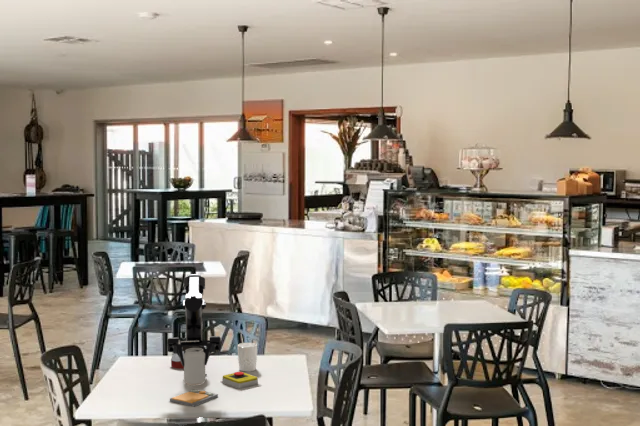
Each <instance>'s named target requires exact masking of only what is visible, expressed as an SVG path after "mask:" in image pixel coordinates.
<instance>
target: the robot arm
mask: <svg viewBox="0 0 640 426" xmlns="http://www.w3.org/2000/svg"><path fill="white" fill-rule="evenodd" d="M183 290H184V291H185V296H184V297H185V298H184V299H183V300H182V310H183V311H184V310H185V340H180V339H179V337H169V338H168V339H166V340H167V343H166V346H167V347H166V348H167V352H168V353H173V355H174V354H177V355H178V356H179V358H180V361H181V363H182V366H184V359H183V352H182V351H184V353H185V352H186V351H185V350H186V349H189V348H202V349H203V352H204V353H205V366H207V364H208V361H209V358H210V356H211V354H212V353H215V352H216V351H221V349H222V348H221V346H222V340H221V339H222V338H221V337H220V336H219V335H216V336H215V335H214V336H213V335H211V336H210V335H209V339H208V340H207V339H206V340H205V339H204V338H203V323H202V322H203V320H202V319H203V317H202V316H203V315H202V312H203V310H204V309H205V308H207V304H206V303H207V302H206V300H205V299H203V296H204V290H206V278H205V277H204V276H201V274H199V273H198V274H195V273H194V274H193V273H192V274H188V275H187V276H186V277H183ZM206 376H208V375H207V373H205V377H206Z"/></svg>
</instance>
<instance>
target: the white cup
mask: <svg viewBox="0 0 640 426" xmlns="http://www.w3.org/2000/svg"><path fill="white" fill-rule="evenodd" d="M257 358H258V343H254V342H240V343H239V344H237V359H238V370H239V371H240V372H253V371H256V369H257V361H258V359H257Z"/></svg>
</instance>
